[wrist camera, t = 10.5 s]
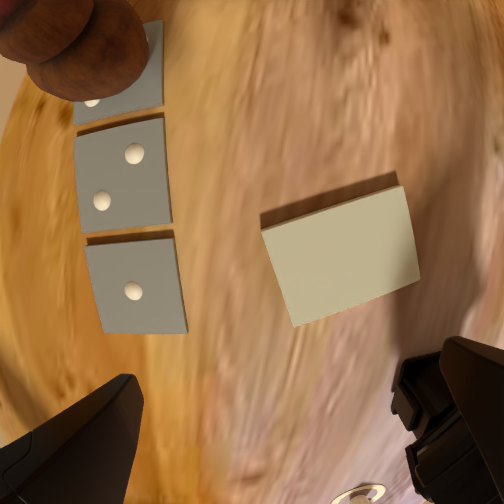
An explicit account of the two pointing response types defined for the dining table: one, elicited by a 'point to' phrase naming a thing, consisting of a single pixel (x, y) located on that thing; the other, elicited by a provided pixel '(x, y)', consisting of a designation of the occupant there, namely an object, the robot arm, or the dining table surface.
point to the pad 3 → (137, 286)
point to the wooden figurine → (75, 45)
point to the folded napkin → (343, 254)
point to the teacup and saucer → (361, 501)
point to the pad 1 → (140, 92)
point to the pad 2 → (123, 177)
